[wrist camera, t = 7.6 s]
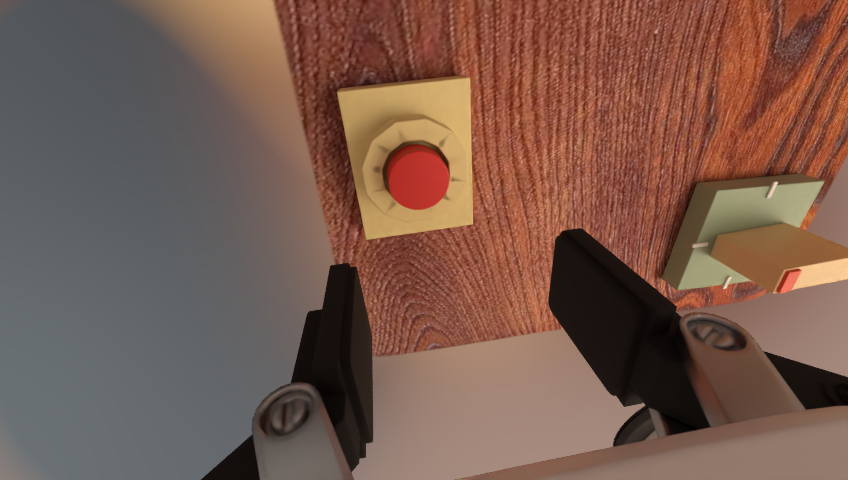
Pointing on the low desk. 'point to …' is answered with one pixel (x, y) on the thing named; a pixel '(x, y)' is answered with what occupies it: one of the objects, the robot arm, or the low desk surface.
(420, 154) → the button
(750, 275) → the tan wedge box
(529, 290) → the low desk surface
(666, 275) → the panel
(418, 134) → the button box
